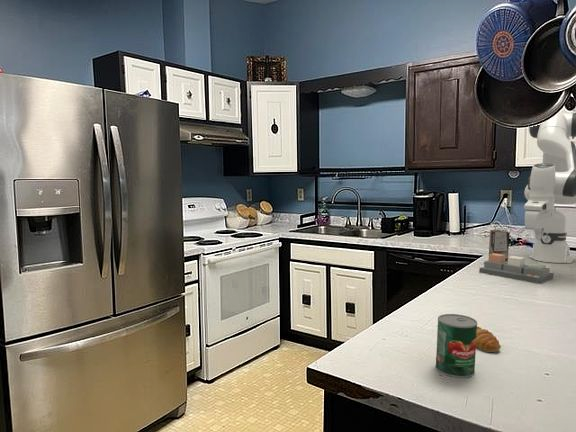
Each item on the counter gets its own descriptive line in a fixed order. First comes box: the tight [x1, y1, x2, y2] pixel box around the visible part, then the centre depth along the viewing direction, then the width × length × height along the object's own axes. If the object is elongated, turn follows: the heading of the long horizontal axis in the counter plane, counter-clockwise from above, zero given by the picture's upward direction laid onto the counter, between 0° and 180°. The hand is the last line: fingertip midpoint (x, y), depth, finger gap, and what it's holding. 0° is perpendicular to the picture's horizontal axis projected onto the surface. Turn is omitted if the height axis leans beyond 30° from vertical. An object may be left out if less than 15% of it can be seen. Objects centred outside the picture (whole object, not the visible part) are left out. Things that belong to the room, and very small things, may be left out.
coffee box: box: [488, 229, 510, 262], centre depth 199 cm, size 9×6×16 cm
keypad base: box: [478, 259, 555, 285], centre depth 180 cm, size 14×24×4 cm, turn 40°
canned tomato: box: [435, 313, 478, 379], centre depth 92 cm, size 8×8×11 cm
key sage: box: [527, 263, 547, 270], centre depth 173 cm, size 5×5×4 cm
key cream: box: [508, 255, 526, 267], centre depth 179 cm, size 5×5×4 cm
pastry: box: [476, 326, 502, 353], centre depth 105 cm, size 9×7×4 cm
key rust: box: [488, 253, 505, 264], centre depth 185 cm, size 5×5×4 cm
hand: (539, 238), depth 172 cm, fingers closed
